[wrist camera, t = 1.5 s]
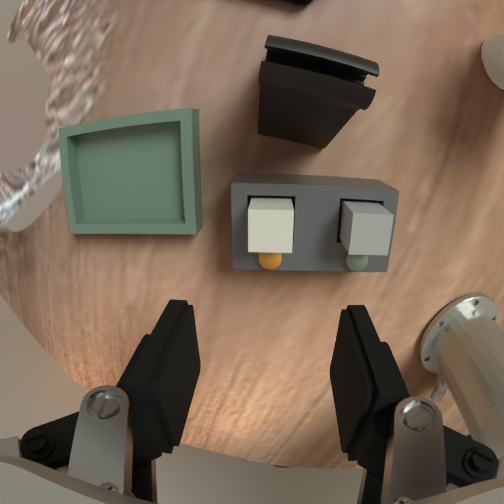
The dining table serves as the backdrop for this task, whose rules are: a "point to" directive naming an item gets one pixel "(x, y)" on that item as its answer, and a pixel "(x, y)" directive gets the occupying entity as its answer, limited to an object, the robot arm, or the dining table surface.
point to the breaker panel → (308, 221)
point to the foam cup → (494, 58)
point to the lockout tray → (133, 174)
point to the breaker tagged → (270, 225)
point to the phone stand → (310, 90)
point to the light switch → (300, 1)
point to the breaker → (365, 228)
